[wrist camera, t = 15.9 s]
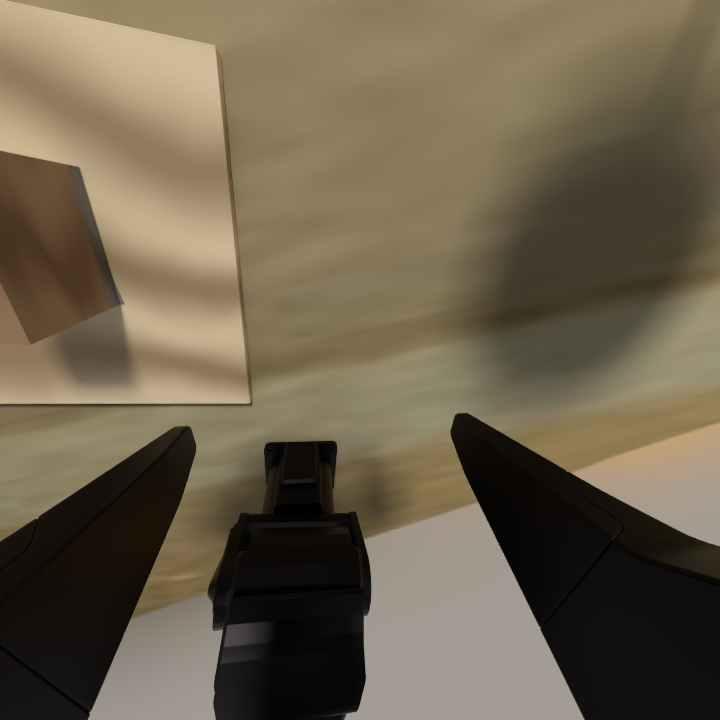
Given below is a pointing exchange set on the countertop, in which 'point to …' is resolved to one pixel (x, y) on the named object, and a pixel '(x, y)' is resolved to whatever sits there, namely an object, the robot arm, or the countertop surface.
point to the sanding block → (48, 251)
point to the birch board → (131, 209)
